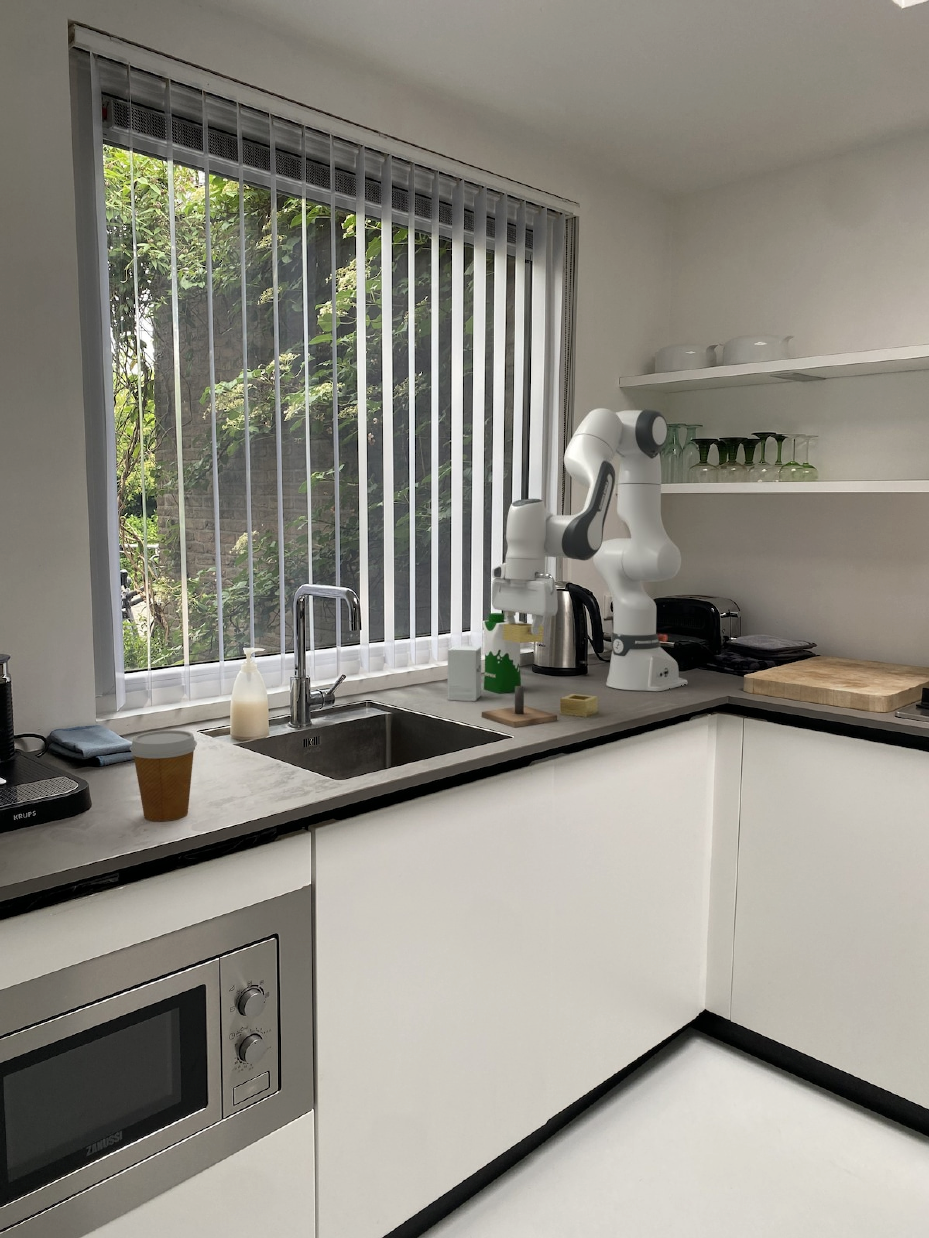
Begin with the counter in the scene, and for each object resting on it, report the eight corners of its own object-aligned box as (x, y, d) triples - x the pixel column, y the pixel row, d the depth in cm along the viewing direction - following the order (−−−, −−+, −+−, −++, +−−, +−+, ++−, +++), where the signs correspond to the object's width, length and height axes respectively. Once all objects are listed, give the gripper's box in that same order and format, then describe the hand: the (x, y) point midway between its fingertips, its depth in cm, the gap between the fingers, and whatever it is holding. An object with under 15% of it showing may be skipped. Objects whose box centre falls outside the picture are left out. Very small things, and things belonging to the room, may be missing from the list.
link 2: (572, 708, 212) (572, 693, 211) (597, 711, 208) (597, 696, 208) (560, 714, 206) (560, 698, 206) (586, 717, 203) (586, 701, 203)
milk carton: (478, 689, 236) (478, 612, 234) (506, 685, 241) (506, 610, 239) (498, 694, 229) (499, 616, 226) (526, 690, 234) (527, 613, 231)
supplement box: (476, 701, 220) (476, 650, 219) (446, 700, 222) (446, 649, 220) (481, 695, 227) (482, 645, 226) (453, 694, 229) (453, 645, 227)
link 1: (525, 638, 208) (525, 623, 208) (542, 641, 203) (543, 625, 203) (502, 639, 205) (503, 623, 205) (520, 642, 200) (520, 626, 199)
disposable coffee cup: (158, 802, 142) (155, 727, 141) (211, 808, 140) (209, 731, 138) (118, 821, 133) (115, 742, 132) (174, 828, 130) (171, 746, 129)
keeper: (523, 710, 210) (524, 680, 209) (557, 720, 200) (557, 688, 199) (481, 717, 203) (481, 685, 202) (514, 727, 193) (514, 694, 192)
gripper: (565, 573, 196) (563, 637, 197) (509, 569, 213) (507, 628, 214) (542, 573, 192) (540, 638, 194) (487, 569, 209) (485, 629, 210)
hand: (522, 633), depth 204 cm, fingers closed on link 1, 6 cm apart
